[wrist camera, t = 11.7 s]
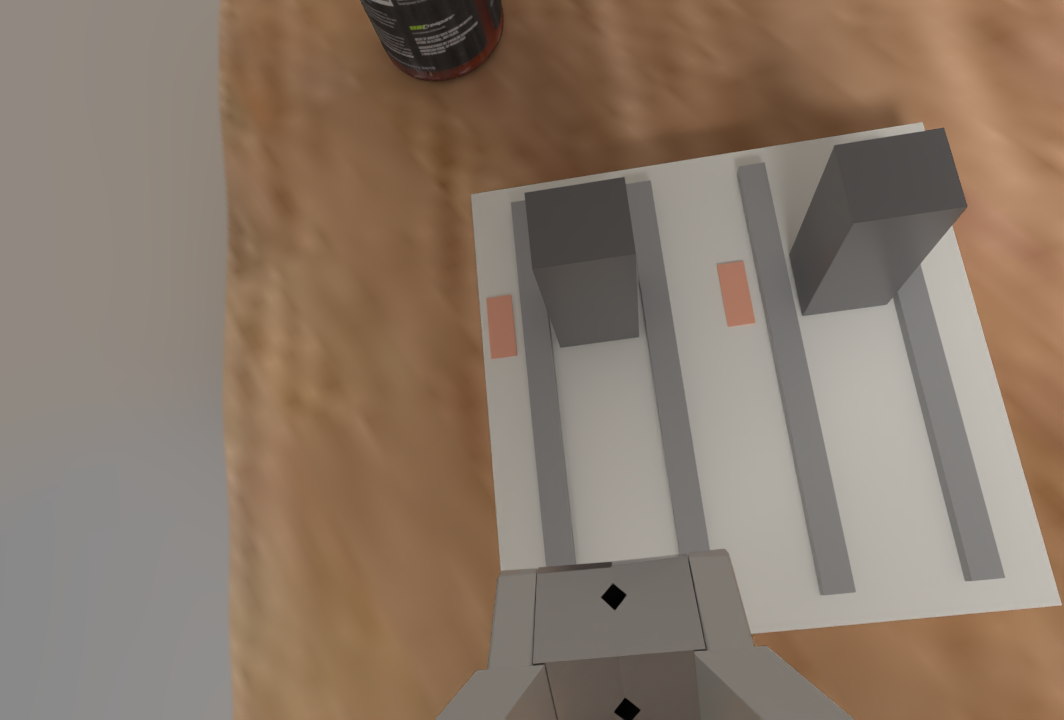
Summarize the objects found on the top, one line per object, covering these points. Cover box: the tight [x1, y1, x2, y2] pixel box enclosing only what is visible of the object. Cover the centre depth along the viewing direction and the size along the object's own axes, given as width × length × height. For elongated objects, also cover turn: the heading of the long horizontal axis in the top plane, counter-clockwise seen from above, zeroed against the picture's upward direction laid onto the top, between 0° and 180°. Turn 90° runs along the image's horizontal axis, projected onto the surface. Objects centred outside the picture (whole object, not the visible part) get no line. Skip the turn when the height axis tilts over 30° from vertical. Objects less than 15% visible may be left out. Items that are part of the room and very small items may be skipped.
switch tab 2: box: [789, 128, 967, 316], centre depth 25 cm, size 2×3×8 cm
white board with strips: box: [471, 122, 1062, 634], centre depth 29 cm, size 18×18×3 cm
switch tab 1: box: [524, 177, 639, 348], centre depth 26 cm, size 2×3×8 cm
